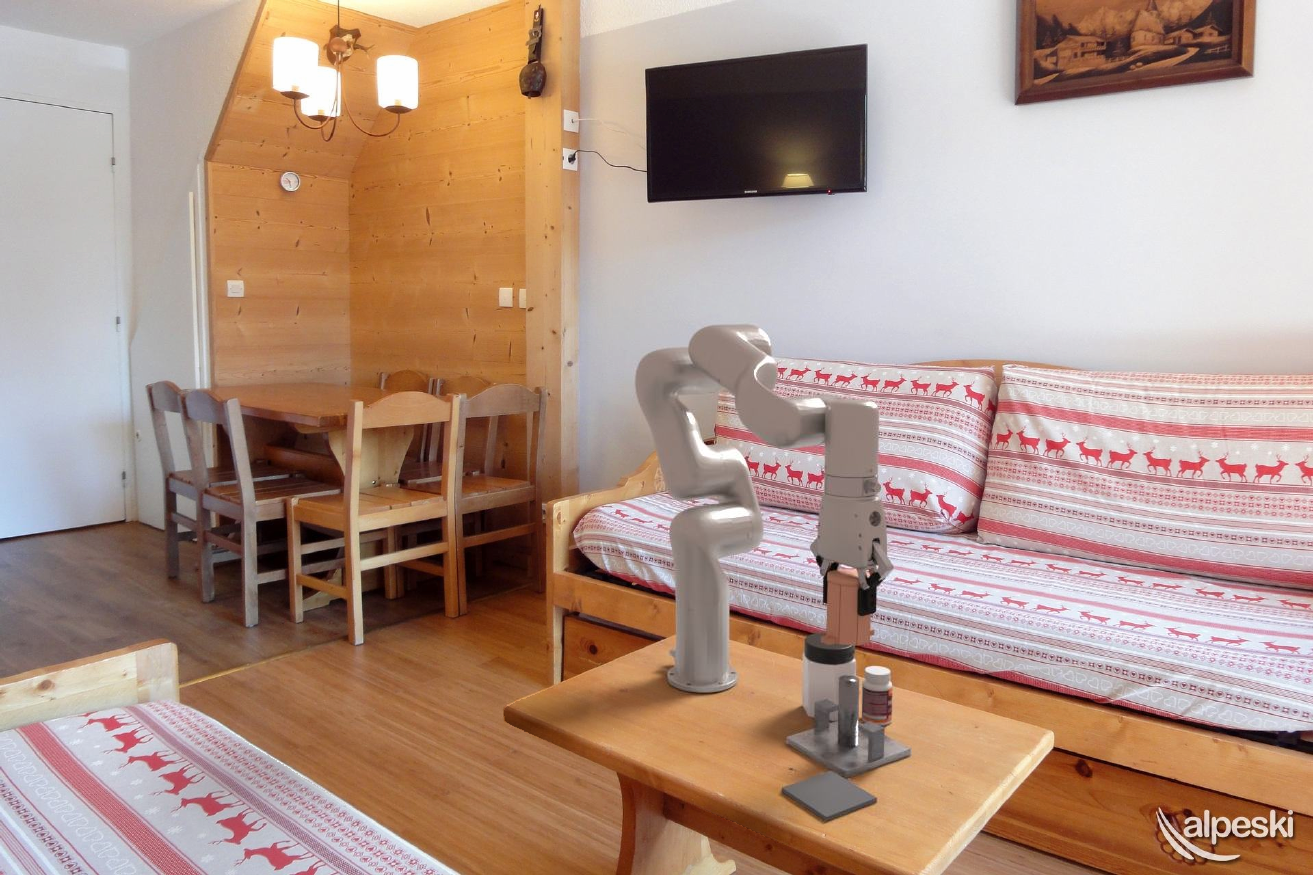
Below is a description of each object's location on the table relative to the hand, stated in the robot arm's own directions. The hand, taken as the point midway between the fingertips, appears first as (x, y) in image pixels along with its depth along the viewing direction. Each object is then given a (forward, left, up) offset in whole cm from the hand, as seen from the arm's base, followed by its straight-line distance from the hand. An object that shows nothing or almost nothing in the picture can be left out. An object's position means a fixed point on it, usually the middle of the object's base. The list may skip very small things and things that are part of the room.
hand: (849, 606), depth 136 cm
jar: (-13, +9, -23) cm, 28 cm away
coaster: (+8, -10, -23) cm, 26 cm away
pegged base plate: (-1, +2, -23) cm, 23 cm away
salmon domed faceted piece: (0, 0, -5) cm, 5 cm away
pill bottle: (-6, +13, -23) cm, 27 cm away
